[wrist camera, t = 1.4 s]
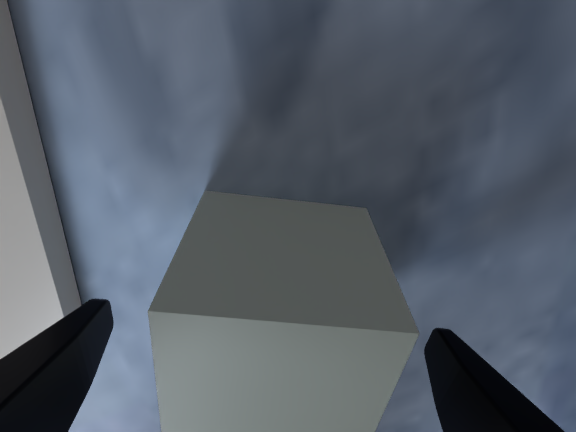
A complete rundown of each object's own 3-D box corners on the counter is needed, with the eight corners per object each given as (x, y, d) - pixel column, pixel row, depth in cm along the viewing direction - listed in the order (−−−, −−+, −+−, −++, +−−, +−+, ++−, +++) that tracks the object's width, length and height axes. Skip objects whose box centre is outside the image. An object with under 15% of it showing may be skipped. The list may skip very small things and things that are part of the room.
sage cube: (335, 319, 13) (359, 465, 9) (205, 308, 13) (164, 455, 9) (365, 206, 11) (419, 333, 6) (205, 189, 10) (148, 310, 6)
